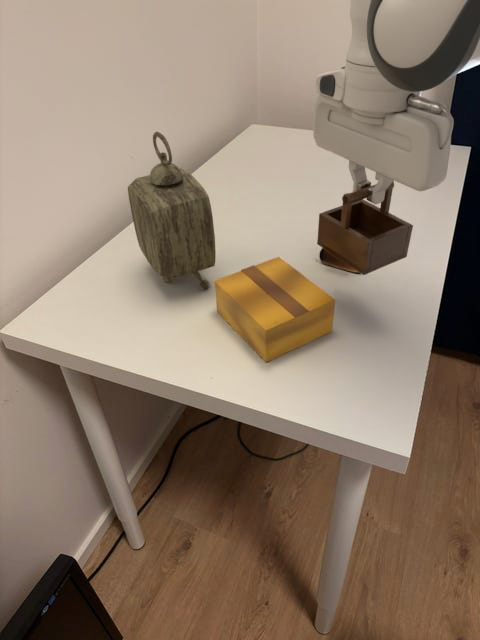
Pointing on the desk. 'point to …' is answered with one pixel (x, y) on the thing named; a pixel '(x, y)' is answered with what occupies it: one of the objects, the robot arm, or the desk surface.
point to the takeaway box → (274, 307)
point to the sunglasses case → (334, 261)
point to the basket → (364, 232)
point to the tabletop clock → (173, 219)
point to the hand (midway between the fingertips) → (367, 197)
